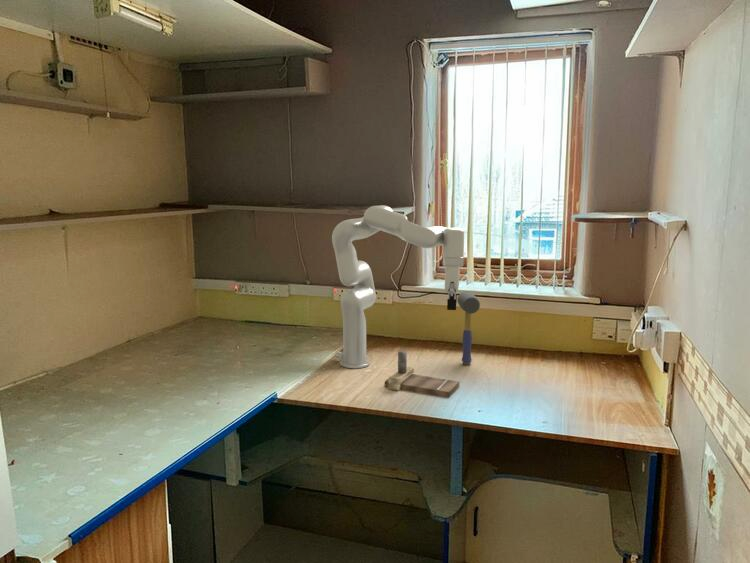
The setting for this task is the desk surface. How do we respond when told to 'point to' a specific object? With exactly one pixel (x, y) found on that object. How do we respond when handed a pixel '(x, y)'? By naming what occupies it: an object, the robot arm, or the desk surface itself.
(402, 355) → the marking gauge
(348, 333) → the robot arm
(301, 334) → the desk surface
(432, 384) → the walnut board
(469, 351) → the rubber mallet
